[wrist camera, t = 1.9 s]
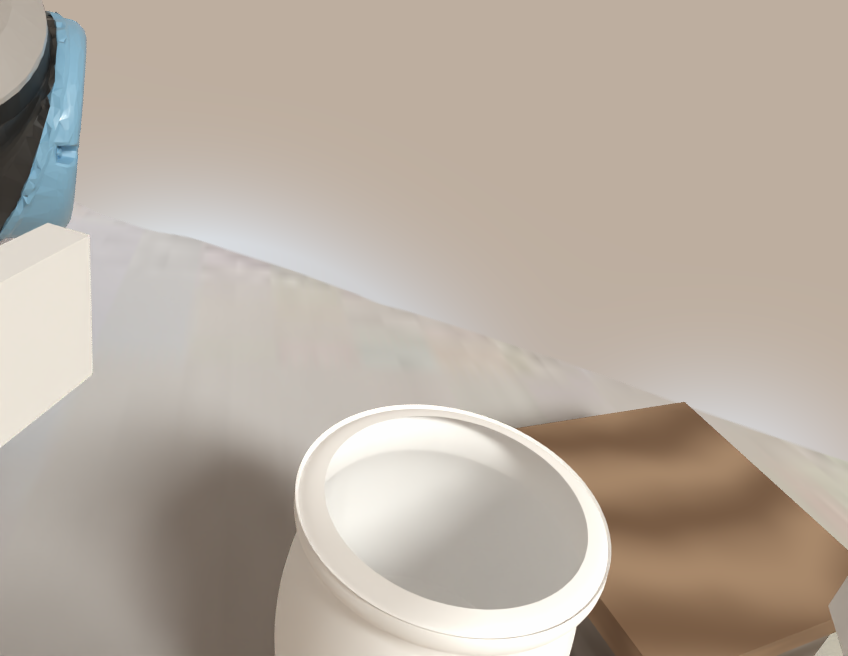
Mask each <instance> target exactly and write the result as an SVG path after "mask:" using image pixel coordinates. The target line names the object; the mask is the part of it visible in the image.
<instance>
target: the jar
mask: <svg viewBox="0 0 848 656" xmlns="http://www.w3.org/2000/svg"><path fill="white" fill-rule="evenodd" d="M294 517H295V524H296V529H297V532H296V534H295V537H294V539H293V542H292V544H291V547H290V550H289V553H288V556H287V559H286V563H285V566H284V570H283V574H282V578H281V582H280V587H279V592H278V598H277V605H276V614H275V631H274V645H275V656H569V655H570V652H571V648H572V644H573V640H574V636H575V632H576V627H577V625H579V624H580V623H581V622H582V621H583V620H584V619H585V618H586V617H587V615H588V614H589V613H590V612H591V611H592V609H593V608H594V606H595V605H596V603H597V601H598V599H599V598H600V596H601V593H602V591H603V589H604V586H605V583H606V579H607V575H608V572H609V568H610V563H611V539H610V533H609V529H608V525H607V522H606V519H605V517H604V514H603V512H602V510H601V508H600V506H599V504H598V502H597V500H596V498H595V497H594V495H593V494H592V492H591V491H590V489H589V488H588V487H587V485H586V484H585V483H584V481H583V480H582V479H581V478H580V477H579V476H578V474H577V473H576V472H575V471H574V470H573V469H572V468H571V467H570V466H569V465H568V464H567V463H565V462H564V461H563V460H562V459H561V458H560V457H559V456H557V455H556V454H555V453H554V452H552V451H551V450H550V449H548V448H547V447H545V446H544V445H542V444H541V443H539V442H538V441H536V440H535V439H533V438H531V437H530V436H528V435H526V434H524V433H522V432H521V431H519V430H517V429H515V428H513V427H510V426H508V425H506V424H504V423H501V422H499V421H496V420H494V419H491V418H488V417H485V416H482V415H479V414H475V413H472V412H468V411H464V410H459V409H454V408H448V407H442V406H433V405H396V406H388V407H382V408H377V409H372V410H368V411H365V412H362V413H359V414H356V415H353V416H351V417H349V418H347V419H344V420H343V421H341V422H339V423H337V424H335V425H334V426H332V427H331V428H329V429H328V430H327V431H326V432H324V433H323V434H322V435H321V436H320V437H319V438H318V439H317V440H316V441H315V442H314V443H313V444H312V446H311V447H310V448H309V450H308V451H307V453H306V454H305V456H304V458H303V460H302V462H301V465H300V467H299V470H298V474H297V478H296V485H295V497H294Z"/></svg>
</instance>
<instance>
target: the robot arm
mask: <svg viewBox="0 0 848 656" xmlns="http://www.w3.org/2000/svg"><path fill="white" fill-rule="evenodd" d="M85 62H86V35H85V31H84V29H83V28H82V27H81V26H80V25H79V24H78V23H77V22H75V21H73V20H70V19H66V18H63V17H62V16H61V15H60V14H58V13H57V12H55V13H53V12H49V11H45V9H44V5H43V2H42V0H0V241H2V240H3V239H5V238H14V239H12V240H10V241H8V242H6V243H4V244H2V245H0V448H1V447H2V446H3V445H4V444H6V443H7V442H8V441H9V440H11V439H12V438H13V437H14V436H16V435H17V434H18V433H19V432H21V431H22V430H23V429H24V428H26V427H27V426H28V425H30V424H31V423H32V422H33V421H35V420H36V419H37V418H38V417H40V416H41V415H42V414H43V413H45V412H46V411H47V410H48V409H50V408H51V407H52V406H53V405H55V404H56V403H57V402H58V401H60V400H61V399H62V398H63V397H65V396H66V395H67V394H69V393H70V392H71V391H72V390H74V389H75V388H76V387H77V386H79V385H80V384H81V383H82V382H84V381H85V380H86V379H87V378H89V377H90V376H91V375H92V374H93V360H92V317H91V273H90V235H88V234H85V233H81V232H78V231H74V230H71V229H68V228H65V227H66V226H67V225H68V223H69V221H70V219H71V215H72V210H73V203H74V195H75V184H76V173H77V159H78V147H79V136H80V130H81V118H82V106H83V93H84V77H85ZM828 607H829V610H830V613H831V617H832V620H833V623H834V626H835V630H836V633H837V636H838V639H839V643H840V646H841V649H842V652H843V656H848V576H847V578H846V579H845V581H844V582H843V584H842V585H841V587H840V588H839V590H838V592H837V593H836V595H835V596H834V598H833V599H832V601H831V602H830V604H829V605H828Z"/></svg>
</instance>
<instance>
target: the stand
mask: <svg viewBox="0 0 848 656" xmlns="http://www.w3.org/2000/svg"><path fill="white" fill-rule="evenodd" d="M515 429H517V430H519V431H521V432H522V433H524V434H526V435H528V436H530V437H531V438H533V439H535V440H536V441H538V442H539V443H541V444H542V445H544V446H545V447H547V448H548V449H550V450H551V451H552V452H554V453H555V454H556V455H557V456H559V457H560V458H561V459H562V460H563V461H564V462H565V463H567V464H568V465H569V466H570V467H571V468H572V469H573V470H574V471H575V472H576V473H577V474H578V476H579V477H580V478H581V479H582V480H583V481H584V483H585V484H586V485H587V487H588V488H589V489H590V491H591V492H592V494H593V495H594V497H595V498H596V500H597V502H598V504H599V506H600V508H601V510H602V512H603V514H604V517H605V519H606V522H607V525H608V529H609V533H610V539H611V563H610V568H609V572H608V575H607V579H606V583H605V586H604V589H603V591H602V593H601V596H600V598H599V599H598V601H597V603H596V605H595V606H594V608H593V609H592V611H591V612H590V613H589V614H588V615H587V617H586V618H585V619H584V620H583V621H582V622H581V623H580V624H579V625H577V627H576V632H575V636H574V640H573V644H572V648H571V652H570V655H569V656H814V655H815V654H816V652H817V651H818V650H819V648H820V647H821V646H822V644H823V643H824V642H825V640H826V639H827V638H828V636H829V635H830V634H832V633H834V632H836V630H835V626H834V623H833V620H832V617H831V613H830V610H829V607H828V605H829V604H830V602H831V601H832V599H833V598H834V596H835V595H836V593H837V592H838V590H839V588H840V587H841V585H842V584H843V582H844V581H845V579H846V578H847V576H848V550H847V549H846V548H845V547H844V546H843V545H842V544H840V543H839V542H838V541H837V540H836V539H835V538H834V537H833V536H832V535H831V534H829V533H828V532H827V531H826V530H825V529H824V528H823V527H822V526H821V525H820V524H818V523H817V522H816V521H815V520H814V519H813V518H812V517H811V516H810V515H809V514H807V513H806V512H805V511H804V510H803V509H802V508H801V507H800V506H799V505H798V504H796V503H795V502H794V501H793V500H792V499H791V498H790V497H789V496H788V495H786V494H785V493H784V492H783V491H782V490H781V489H780V488H779V487H778V486H777V485H775V484H774V483H773V482H772V481H771V480H770V479H769V478H768V477H767V476H766V475H764V474H763V473H762V472H761V471H760V470H759V469H758V468H757V467H756V466H755V465H753V464H752V463H751V462H750V461H749V460H748V459H747V458H746V457H745V456H744V455H742V454H741V453H740V452H739V451H738V450H737V449H736V448H735V447H734V446H732V445H731V444H730V443H729V442H728V441H727V440H726V439H725V438H724V437H723V436H721V435H720V434H719V433H718V432H717V431H716V430H715V429H714V428H713V427H712V426H710V425H709V424H708V423H707V422H706V421H705V420H704V419H703V418H702V417H701V416H699V415H698V414H697V413H696V412H695V411H694V410H693V409H692V408H691V407H690V406H688V405H687V404H686V403H685V402H681V403H675V404H668V405H662V406H656V407H649V408H643V409H636V410H630V411H624V412H617V413H611V414H604V415H598V416H592V417H585V418H579V419H572V420H566V421H560V422H553V423H547V424H541V425H534V426H528V427H521V428H515Z"/></svg>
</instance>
